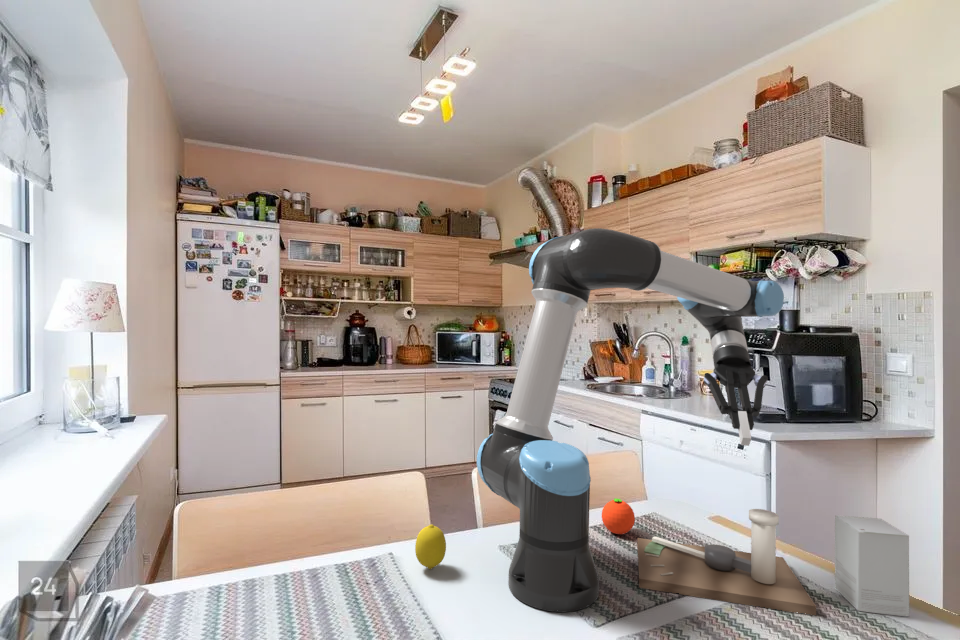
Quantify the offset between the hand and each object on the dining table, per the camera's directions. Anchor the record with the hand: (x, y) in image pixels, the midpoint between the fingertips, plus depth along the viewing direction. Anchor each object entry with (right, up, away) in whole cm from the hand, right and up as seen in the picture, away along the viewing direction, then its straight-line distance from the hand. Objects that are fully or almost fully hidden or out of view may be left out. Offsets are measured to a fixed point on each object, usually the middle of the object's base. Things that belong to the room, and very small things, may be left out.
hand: (746, 441), depth 98 cm
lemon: (-62, -21, -10) cm, 66 cm away
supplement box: (+10, -22, -18) cm, 30 cm away
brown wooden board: (-11, -21, -10) cm, 26 cm away
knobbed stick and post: (-11, -20, -9) cm, 24 cm away
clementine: (-24, -22, +8) cm, 33 cm away
